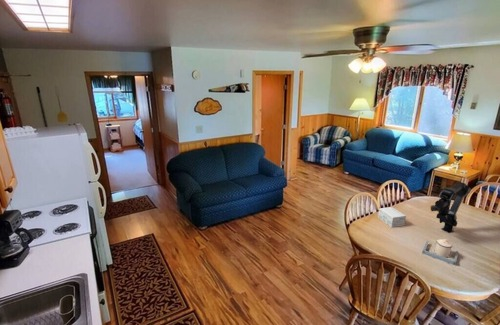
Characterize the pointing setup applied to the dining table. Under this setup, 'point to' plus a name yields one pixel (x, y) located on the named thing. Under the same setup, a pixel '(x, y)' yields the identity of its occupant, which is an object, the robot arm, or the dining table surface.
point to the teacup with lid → (443, 247)
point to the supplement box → (391, 216)
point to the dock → (439, 256)
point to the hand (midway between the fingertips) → (440, 222)
